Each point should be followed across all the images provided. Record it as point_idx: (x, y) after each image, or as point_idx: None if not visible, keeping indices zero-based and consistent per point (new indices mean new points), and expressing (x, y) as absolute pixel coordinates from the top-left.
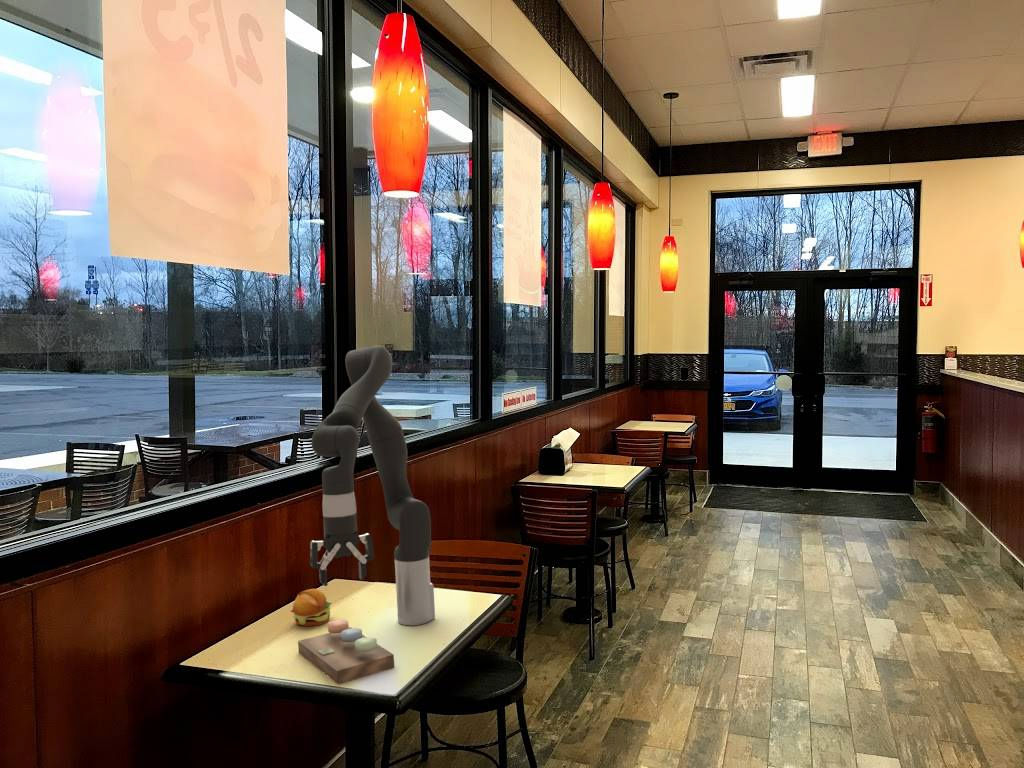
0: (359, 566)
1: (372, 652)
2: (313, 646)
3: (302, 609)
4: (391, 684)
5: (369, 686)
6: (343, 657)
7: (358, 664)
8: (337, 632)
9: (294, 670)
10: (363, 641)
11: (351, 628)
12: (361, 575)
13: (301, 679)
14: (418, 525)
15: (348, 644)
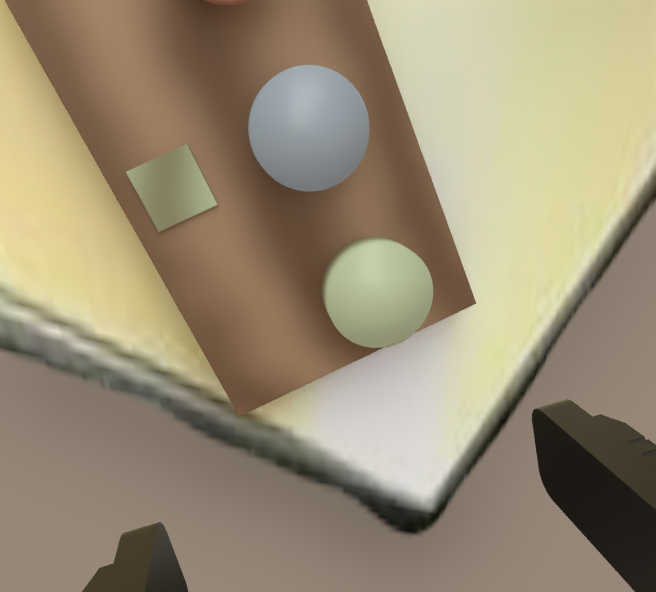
0: (626, 523)
1: None
2: (87, 72)
3: None
4: (427, 431)
5: (353, 431)
6: (261, 278)
7: (327, 371)
8: (220, 4)
9: (25, 202)
10: (370, 298)
11: (310, 68)
12: (572, 521)
13: (79, 311)
14: None
15: None
